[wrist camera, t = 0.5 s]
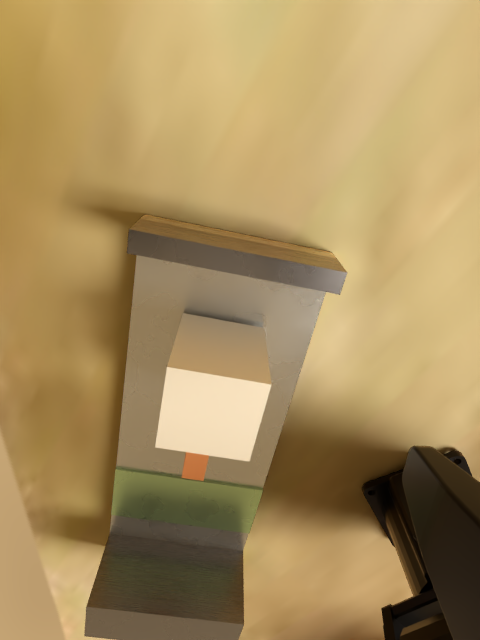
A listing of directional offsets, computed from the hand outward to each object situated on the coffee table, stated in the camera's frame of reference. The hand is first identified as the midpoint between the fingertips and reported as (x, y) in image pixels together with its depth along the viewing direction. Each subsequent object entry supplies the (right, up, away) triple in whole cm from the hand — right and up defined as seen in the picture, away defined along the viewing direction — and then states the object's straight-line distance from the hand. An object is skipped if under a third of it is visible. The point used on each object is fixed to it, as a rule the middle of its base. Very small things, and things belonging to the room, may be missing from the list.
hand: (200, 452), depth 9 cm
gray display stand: (-2, -4, +15) cm, 16 cm away
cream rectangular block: (-1, -1, +13) cm, 13 cm away
